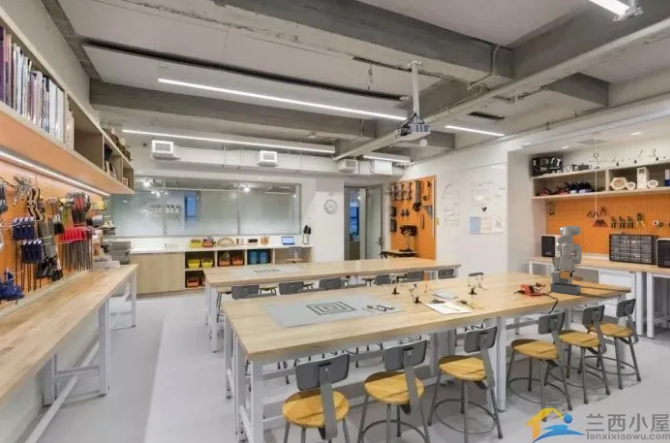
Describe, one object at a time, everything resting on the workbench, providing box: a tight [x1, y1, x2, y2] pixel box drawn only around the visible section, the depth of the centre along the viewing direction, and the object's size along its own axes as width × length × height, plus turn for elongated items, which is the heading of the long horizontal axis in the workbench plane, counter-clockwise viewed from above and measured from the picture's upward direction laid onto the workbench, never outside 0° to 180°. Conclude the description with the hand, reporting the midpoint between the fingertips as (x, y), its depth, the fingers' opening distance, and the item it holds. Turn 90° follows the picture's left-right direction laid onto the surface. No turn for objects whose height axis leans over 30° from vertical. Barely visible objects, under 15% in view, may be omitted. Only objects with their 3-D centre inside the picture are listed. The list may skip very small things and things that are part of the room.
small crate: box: [560, 271, 573, 279], centre depth 319 cm, size 10×7×6 cm
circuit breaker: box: [549, 271, 568, 288], centre depth 340 cm, size 8×14×15 cm, turn 64°
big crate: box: [550, 282, 582, 297], centre depth 319 cm, size 18×20×7 cm
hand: (565, 276), depth 319 cm, fingers closed on small crate, 7 cm apart
